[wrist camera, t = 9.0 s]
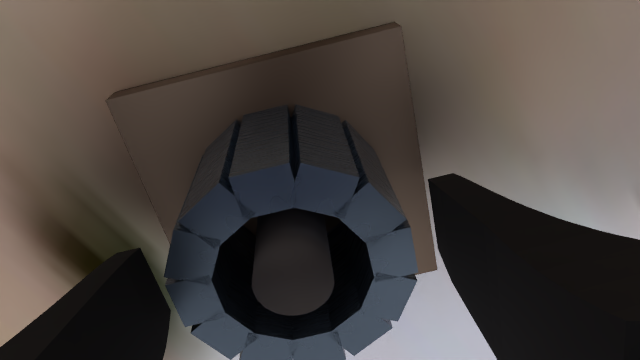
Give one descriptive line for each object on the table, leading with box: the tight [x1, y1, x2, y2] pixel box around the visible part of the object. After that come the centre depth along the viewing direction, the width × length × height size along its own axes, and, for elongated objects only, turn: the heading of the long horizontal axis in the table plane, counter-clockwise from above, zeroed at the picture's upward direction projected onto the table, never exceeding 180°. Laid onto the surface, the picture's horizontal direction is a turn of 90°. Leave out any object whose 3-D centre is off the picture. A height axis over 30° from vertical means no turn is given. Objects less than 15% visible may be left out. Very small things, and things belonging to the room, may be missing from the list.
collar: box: [164, 104, 418, 360], centre depth 12 cm, size 6×6×4 cm
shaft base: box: [105, 22, 437, 316], centre depth 13 cm, size 8×8×5 cm
